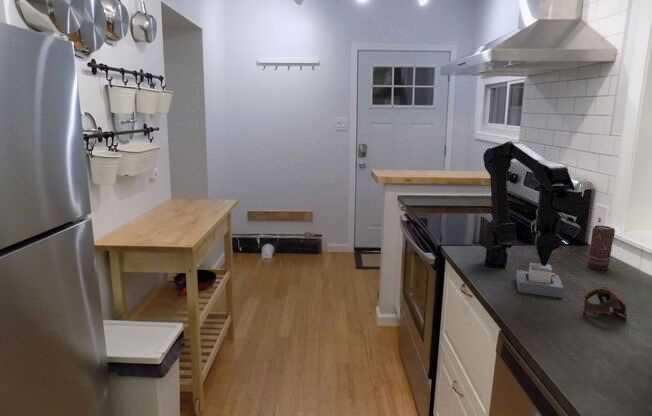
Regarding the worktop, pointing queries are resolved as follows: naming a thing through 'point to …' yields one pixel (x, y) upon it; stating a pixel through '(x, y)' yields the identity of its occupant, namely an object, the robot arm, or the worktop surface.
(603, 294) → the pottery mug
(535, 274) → the plug
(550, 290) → the socket block
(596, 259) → the can
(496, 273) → the worktop surface
